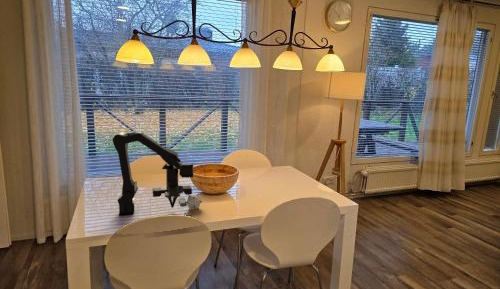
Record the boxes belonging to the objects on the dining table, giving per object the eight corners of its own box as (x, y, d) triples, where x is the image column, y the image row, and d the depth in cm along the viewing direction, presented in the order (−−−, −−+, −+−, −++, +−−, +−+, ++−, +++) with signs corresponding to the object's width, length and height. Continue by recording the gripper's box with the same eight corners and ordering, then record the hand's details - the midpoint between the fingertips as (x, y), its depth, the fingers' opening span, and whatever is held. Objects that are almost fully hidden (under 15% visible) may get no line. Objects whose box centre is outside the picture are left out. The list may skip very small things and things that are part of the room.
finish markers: (185, 218, 159) (184, 215, 159) (178, 200, 182) (178, 197, 182) (191, 218, 160) (191, 215, 160) (184, 199, 183) (184, 197, 183)
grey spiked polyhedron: (189, 216, 171) (178, 200, 171) (202, 206, 176) (191, 191, 176) (195, 213, 164) (184, 196, 164) (208, 203, 169) (197, 187, 169)
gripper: (153, 183, 153) (153, 215, 156) (194, 181, 159) (193, 212, 162) (152, 176, 164) (152, 206, 167) (190, 174, 170) (190, 203, 173)
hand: (172, 207), depth 167 cm, fingers closed
